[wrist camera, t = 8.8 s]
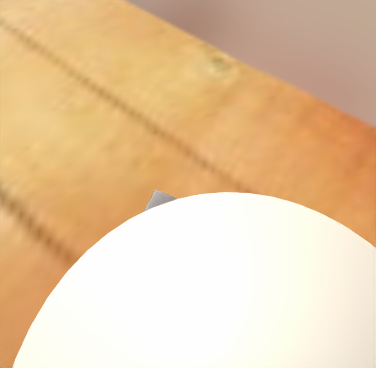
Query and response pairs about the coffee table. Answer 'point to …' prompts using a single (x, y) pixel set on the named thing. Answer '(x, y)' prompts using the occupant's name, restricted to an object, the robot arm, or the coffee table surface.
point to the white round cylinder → (214, 292)
